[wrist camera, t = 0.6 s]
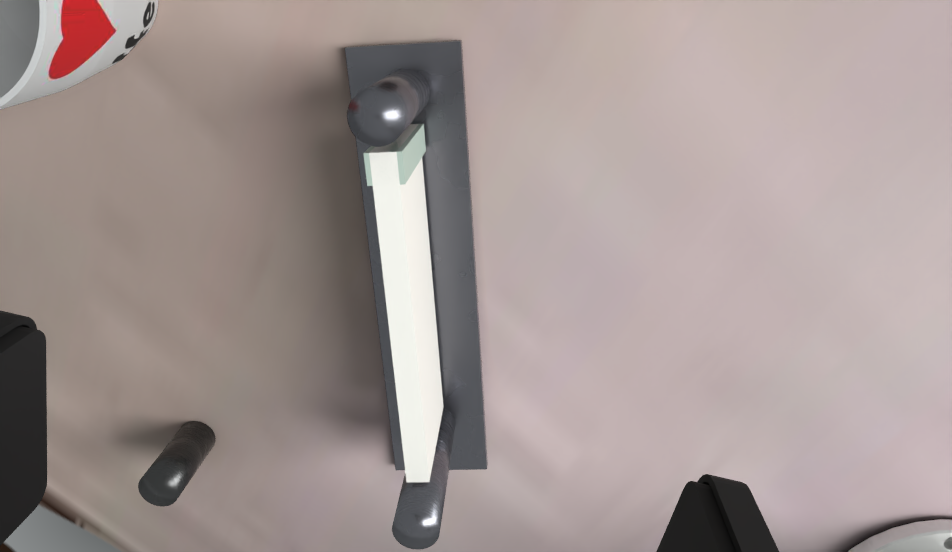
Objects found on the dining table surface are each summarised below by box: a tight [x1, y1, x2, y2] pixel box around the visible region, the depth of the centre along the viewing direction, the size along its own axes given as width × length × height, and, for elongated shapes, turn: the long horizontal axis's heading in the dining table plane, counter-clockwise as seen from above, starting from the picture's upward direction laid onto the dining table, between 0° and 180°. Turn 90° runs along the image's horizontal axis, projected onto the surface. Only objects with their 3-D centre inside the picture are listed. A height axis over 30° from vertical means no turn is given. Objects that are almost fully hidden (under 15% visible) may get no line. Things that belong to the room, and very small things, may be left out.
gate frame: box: [138, 40, 487, 549], centre depth 31 cm, size 22×17×8 cm
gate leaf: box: [364, 124, 443, 482], centre depth 30 cm, size 14×1×6 cm, turn 3°
